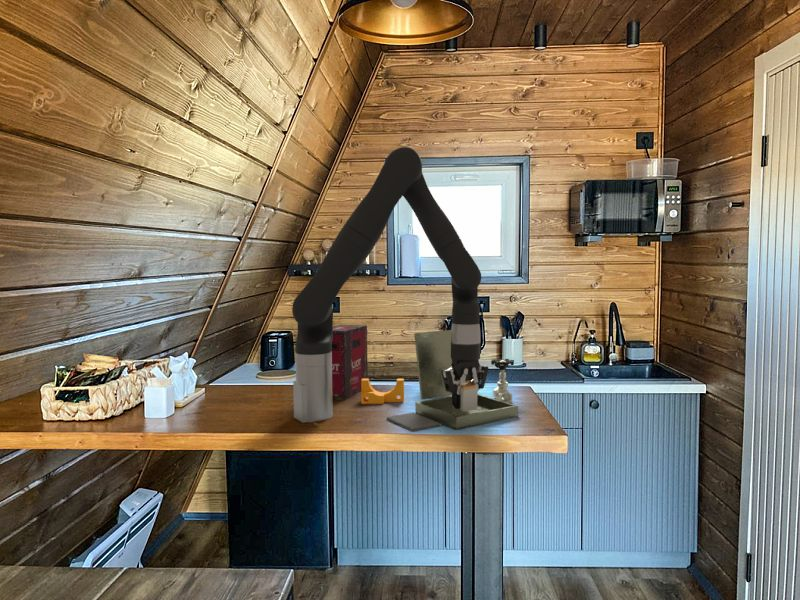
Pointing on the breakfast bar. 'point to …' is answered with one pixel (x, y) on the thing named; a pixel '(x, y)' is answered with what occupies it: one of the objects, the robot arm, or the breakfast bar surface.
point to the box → (348, 360)
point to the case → (466, 412)
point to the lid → (433, 362)
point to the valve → (502, 381)
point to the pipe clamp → (381, 393)
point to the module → (468, 397)
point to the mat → (413, 421)
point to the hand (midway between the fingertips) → (464, 406)
